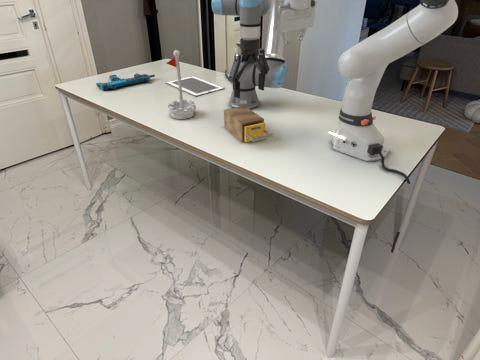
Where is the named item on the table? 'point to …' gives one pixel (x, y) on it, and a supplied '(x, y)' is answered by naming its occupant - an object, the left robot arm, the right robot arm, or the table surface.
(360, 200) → the table surface
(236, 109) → the wooden drawer cabinet
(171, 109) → the flag stand
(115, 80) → the submachine gun
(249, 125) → the drawer
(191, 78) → the tablet
